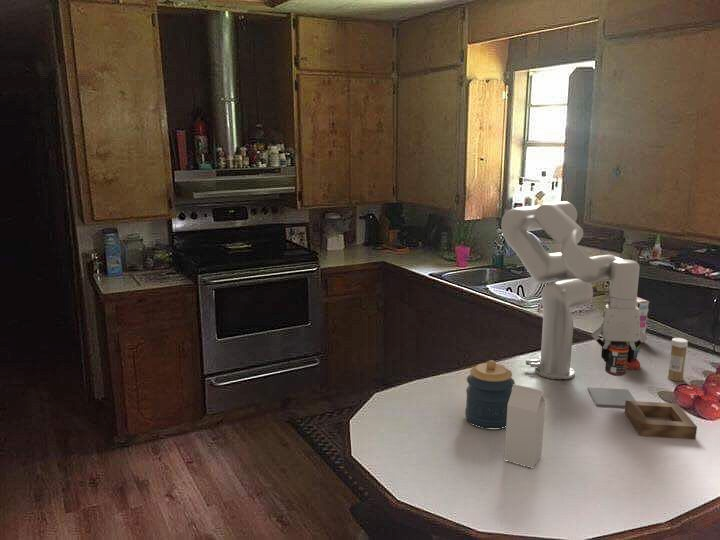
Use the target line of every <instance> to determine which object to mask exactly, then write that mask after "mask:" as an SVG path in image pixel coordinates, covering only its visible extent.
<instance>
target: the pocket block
mask: <svg viewBox="0 0 720 540" xmlns="http://www.w3.org/2000/svg"><path fill="white" fill-rule="evenodd" d="M624 413H625V415H626V417H627V418H628V420H629V421H630V423H631V424H632V427H633V428H634V430H635V431H636V433H637V434H638V436H640V437H642V436H643V437H653V438H654V437H656V438H657V437H658V438H670V439H671V438H672V439H673V438H674V439H685V440H687V439H688V440H689V439H690V440H696V438H697V437H696V436H697V430H698V427H697V425H696V424H695V422H694V421H693V420H692V419H691V418H690V417H689V416H688V414H687V413H686V412H685V411H684V409H683V408H682V407H681V406H680V404H679V403H675V402H674V403H673V402H672V403H671V402H656V401H637V400H636V401H626V402H625V407H624ZM648 418H656V419H648ZM657 418H659V419H670V420H657Z"/></svg>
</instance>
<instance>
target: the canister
mask: <svg viewBox="0 0 720 540" xmlns="http://www.w3.org/2000/svg"><path fill="white" fill-rule="evenodd" d="M469 372H470V374H469V375H468V376H467V377H466V382H467V383H468V384H467V387H466V389H465V390H466V405H465V412H464V413H465V419H466V418H467V419H466V421H467V420H468V421H469V422H470V423H472V424H474V425H477V426H480V427H483V428H502V427H505V426H506V423H507V405H508V401H509V398H510V395H511V392H512V389H513V384H516V382H515V380H514V379H513V373H512V371H511V370H510V369H508V368H506V367H505V366H504V365H502V364H498V363H497V362H496V361H495V360H492V359H489V360H488V361H487V362H482V363H479V364H476V365H474V366H473V367H471V369H470V370H469ZM468 421H467V422H468ZM469 422H468V423H469ZM470 423H469V424H470ZM472 424H471V425H472ZM474 425H473V426H474Z"/></svg>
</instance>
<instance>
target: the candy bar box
mask: <svg viewBox="0 0 720 540" xmlns="http://www.w3.org/2000/svg"><path fill="white" fill-rule="evenodd" d="M636 307H638V308H639V313H640V330H641V331H642V333H643V334H644V335H645V336H646V337H647V335H646V334H647V326H648V319H649V318H648V317H649V310H650V308H649V307H650V301H649V300H646V299H645V298H644V299H643V298H642V297H639V296H637V301H636ZM643 343H646V340H645V341H644V342H642V343H641V344H643Z"/></svg>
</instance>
